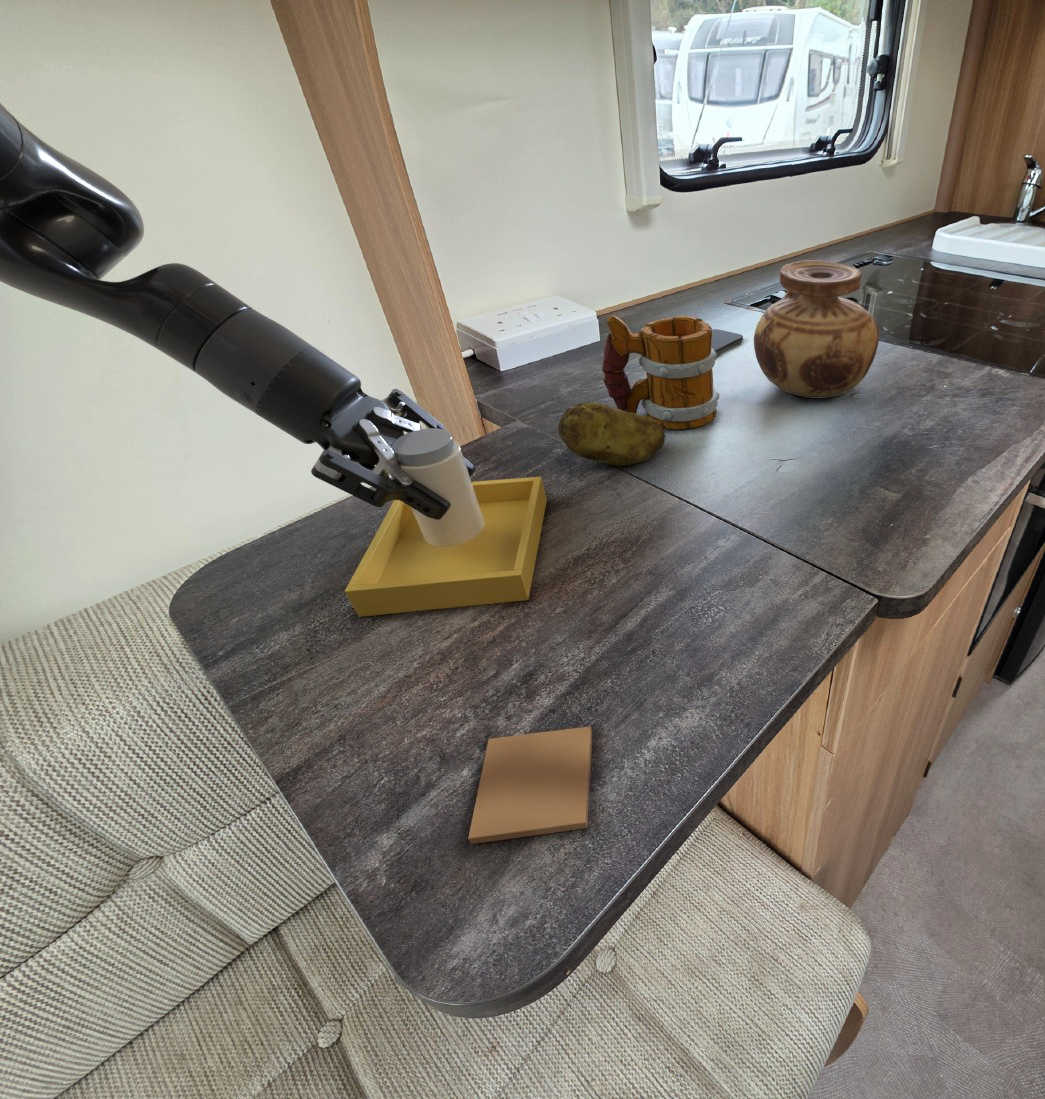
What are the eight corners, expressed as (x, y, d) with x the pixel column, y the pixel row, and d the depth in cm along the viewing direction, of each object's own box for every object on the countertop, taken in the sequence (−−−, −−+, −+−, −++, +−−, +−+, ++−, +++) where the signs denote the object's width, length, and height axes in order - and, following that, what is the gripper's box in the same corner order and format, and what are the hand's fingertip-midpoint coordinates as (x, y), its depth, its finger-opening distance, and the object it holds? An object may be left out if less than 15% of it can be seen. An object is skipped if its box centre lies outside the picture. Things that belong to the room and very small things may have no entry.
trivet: (587, 828, 40) (585, 822, 40) (471, 844, 39) (467, 838, 39) (592, 732, 46) (590, 726, 46) (491, 744, 45) (488, 738, 45)
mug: (726, 426, 86) (725, 320, 76) (611, 439, 83) (595, 330, 74) (713, 395, 94) (710, 296, 84) (608, 406, 91) (592, 304, 82)
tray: (528, 600, 58) (520, 574, 56) (358, 617, 56) (344, 591, 54) (547, 499, 71) (541, 476, 69) (411, 511, 70) (400, 487, 68)
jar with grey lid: (478, 544, 60) (447, 454, 53) (416, 549, 59) (377, 459, 53) (489, 510, 64) (462, 424, 58) (431, 515, 64) (397, 428, 57)
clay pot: (910, 380, 90) (886, 252, 77) (804, 441, 91) (760, 324, 77) (850, 338, 104) (820, 223, 91) (758, 390, 105) (714, 284, 91)
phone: (745, 335, 113) (697, 359, 103) (745, 339, 113) (698, 364, 104) (714, 328, 116) (664, 350, 106) (714, 332, 117) (665, 355, 107)
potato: (664, 475, 75) (658, 417, 70) (562, 478, 75) (549, 420, 70) (667, 443, 82) (662, 388, 77) (573, 446, 82) (562, 390, 77)
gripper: (242, 382, 44) (449, 513, 51) (343, 320, 56) (501, 435, 63) (211, 445, 48) (409, 560, 55) (312, 375, 59) (466, 478, 66)
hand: (458, 493), depth 59 cm, fingers closed on jar with grey lid, 6 cm apart
